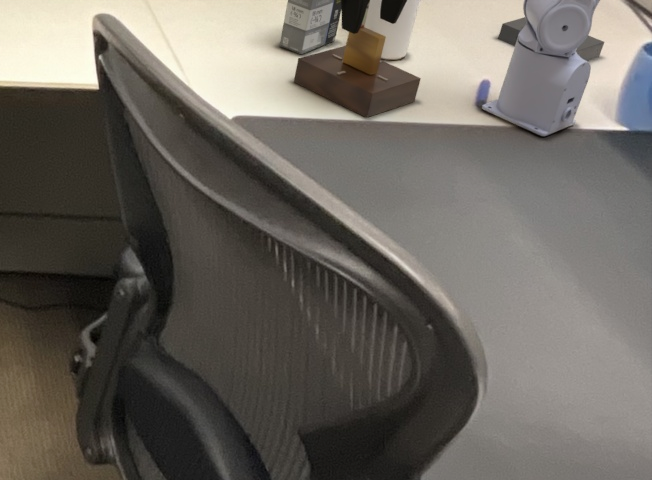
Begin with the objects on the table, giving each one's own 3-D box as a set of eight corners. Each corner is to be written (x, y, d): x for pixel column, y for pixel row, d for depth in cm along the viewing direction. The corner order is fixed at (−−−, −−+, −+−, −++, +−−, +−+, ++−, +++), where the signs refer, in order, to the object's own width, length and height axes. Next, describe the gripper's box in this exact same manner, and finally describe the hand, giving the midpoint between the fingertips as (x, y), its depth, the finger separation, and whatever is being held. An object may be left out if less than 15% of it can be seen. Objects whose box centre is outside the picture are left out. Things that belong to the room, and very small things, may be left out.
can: (404, 64, 150) (428, -30, 142) (357, 55, 150) (378, -39, 142) (407, 48, 154) (430, -43, 146) (361, 39, 155) (382, -53, 147)
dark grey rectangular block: (599, 57, 162) (609, 29, 159) (567, 68, 157) (578, 39, 154) (530, 29, 167) (539, 1, 165) (497, 38, 162) (506, 10, 160)
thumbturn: (377, 73, 138) (386, 34, 134) (370, 75, 137) (379, 36, 134) (349, 60, 140) (357, 21, 137) (342, 62, 139) (350, 23, 136)
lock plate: (414, 101, 140) (421, 76, 138) (366, 117, 135) (372, 92, 133) (342, 67, 146) (348, 43, 144) (293, 81, 140) (298, 56, 138)
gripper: (407, -113, 132) (379, 5, 141) (330, -102, 123) (306, 23, 133) (455, -96, 128) (423, 24, 138) (379, -83, 120) (351, 44, 129)
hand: (369, 25), depth 135 cm, fingers open, 7 cm apart
